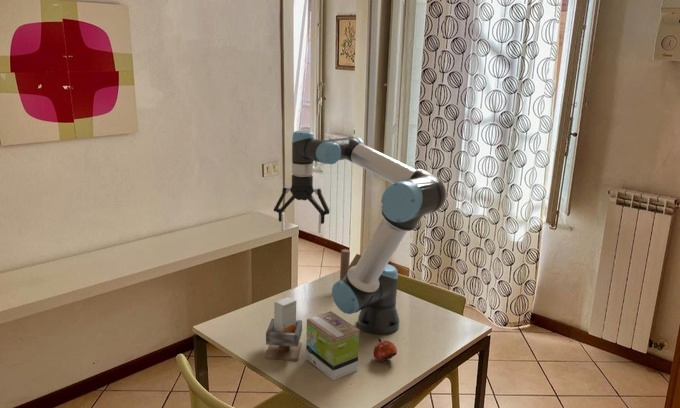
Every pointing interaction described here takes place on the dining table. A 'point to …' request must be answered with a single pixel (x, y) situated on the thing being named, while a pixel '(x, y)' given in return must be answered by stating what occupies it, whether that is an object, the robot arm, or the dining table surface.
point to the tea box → (332, 345)
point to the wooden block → (347, 262)
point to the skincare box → (285, 315)
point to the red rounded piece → (384, 350)
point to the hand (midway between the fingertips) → (301, 231)
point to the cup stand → (283, 343)
